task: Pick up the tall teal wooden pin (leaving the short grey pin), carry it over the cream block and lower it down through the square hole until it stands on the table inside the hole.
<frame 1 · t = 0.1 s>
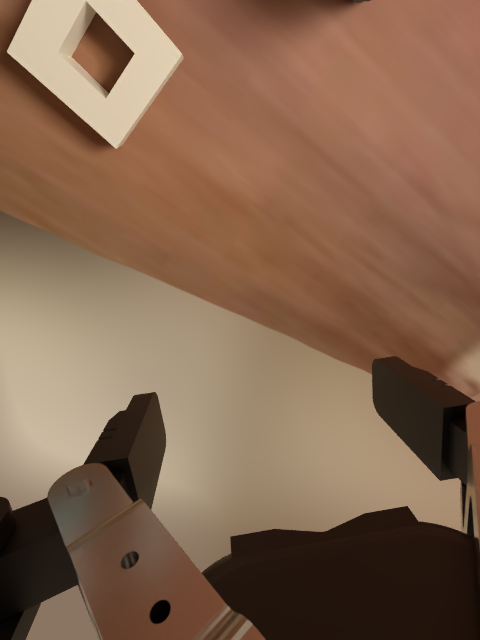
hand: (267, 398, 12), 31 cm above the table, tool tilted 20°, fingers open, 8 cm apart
hole block: (106, 57, 29), on the table
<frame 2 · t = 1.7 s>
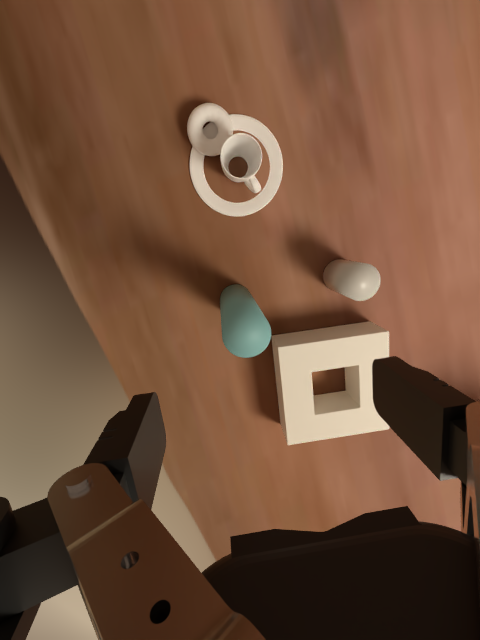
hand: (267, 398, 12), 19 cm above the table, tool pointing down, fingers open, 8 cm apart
long pin: (235, 300, 30), on the table
hole block: (323, 374, 32), on the table
short pin: (338, 275, 30), on the table
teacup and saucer: (249, 132, 27), on the table
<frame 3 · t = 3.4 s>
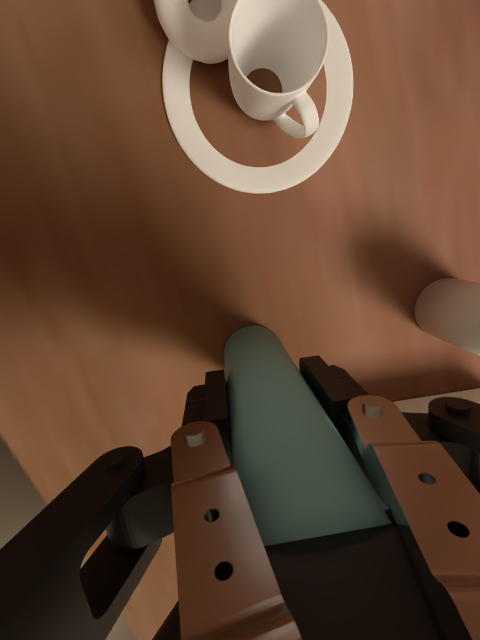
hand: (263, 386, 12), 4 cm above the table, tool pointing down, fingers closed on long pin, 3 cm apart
long pin: (253, 353, 16), on the table, touching gripper
hole block: (403, 475, 19), on the table
short pin: (442, 307, 16), on the table
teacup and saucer: (285, 20, 13), on the table
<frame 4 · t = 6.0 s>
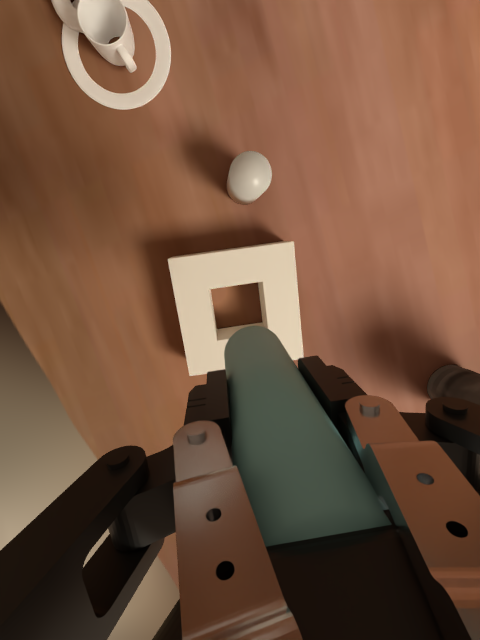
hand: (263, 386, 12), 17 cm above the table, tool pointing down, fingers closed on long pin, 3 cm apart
long pin: (253, 354, 16), point 14 cm above the table, touching gripper
beverage cup: (446, 383, 34), on the table
hole block: (236, 303, 29), on the table
short pin: (244, 186, 27), on the table
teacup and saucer: (131, 10, 24), on the table
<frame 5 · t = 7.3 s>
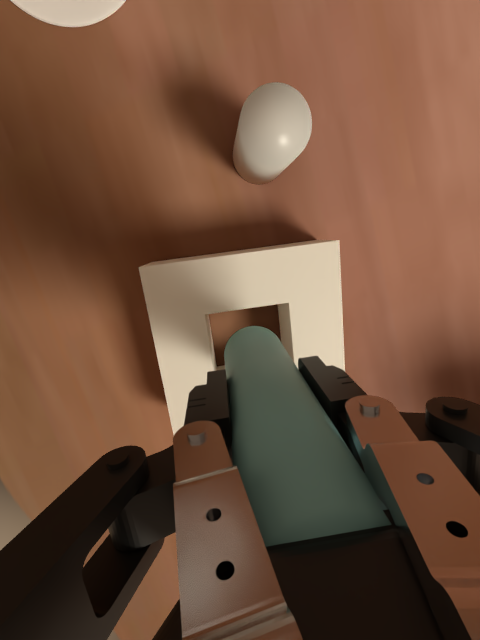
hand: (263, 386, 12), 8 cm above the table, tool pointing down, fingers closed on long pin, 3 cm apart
long pin: (253, 354, 16), point 4 cm above the table, touching gripper
hole block: (245, 329, 20), on the table
short pin: (259, 155, 18), on the table
when the fingers open (5 cm above the table, at t = 8.1 s): long pin drops 1 cm, resting in hole block.
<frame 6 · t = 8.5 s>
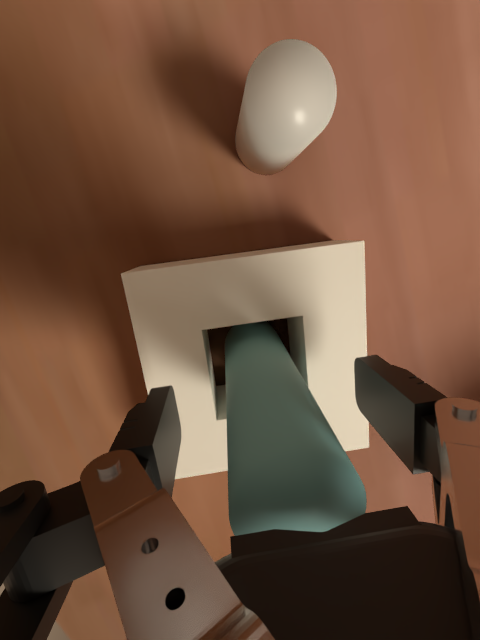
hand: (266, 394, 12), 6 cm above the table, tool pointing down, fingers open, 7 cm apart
long pin: (251, 344, 17), resting in hole block
hole block: (249, 344, 17), on the table
short pin: (266, 140, 15), on the table
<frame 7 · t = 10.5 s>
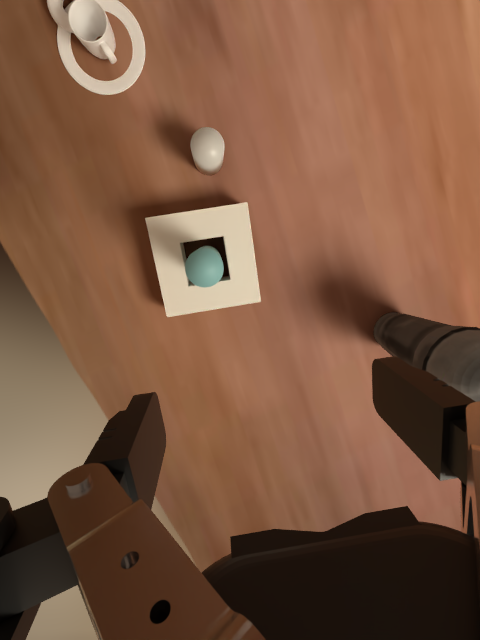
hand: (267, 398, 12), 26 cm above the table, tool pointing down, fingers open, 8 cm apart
long pin: (207, 259, 35), resting in hole block
beverage cup: (390, 329, 39), on the table
hole block: (206, 259, 35), on the table
short pin: (208, 159, 33), on the table
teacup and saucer: (112, 14, 29), on the table
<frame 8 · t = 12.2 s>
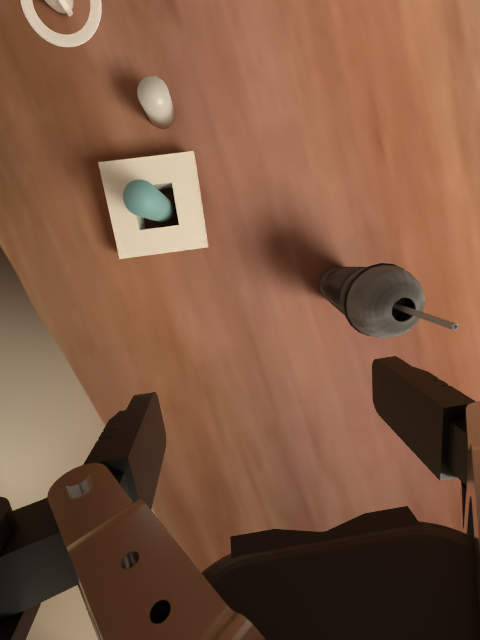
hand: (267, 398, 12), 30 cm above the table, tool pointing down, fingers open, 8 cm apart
long pin: (161, 209, 38), resting in hole block
beverage cup: (335, 284, 42), on the table
hole block: (160, 209, 38), on the table
short pin: (161, 113, 35), on the table
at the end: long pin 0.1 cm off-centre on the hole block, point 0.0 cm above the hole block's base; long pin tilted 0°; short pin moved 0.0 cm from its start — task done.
